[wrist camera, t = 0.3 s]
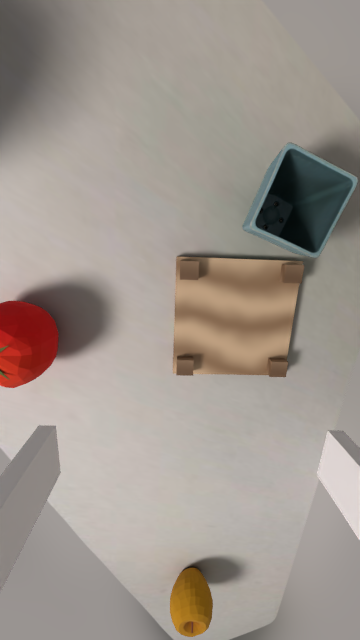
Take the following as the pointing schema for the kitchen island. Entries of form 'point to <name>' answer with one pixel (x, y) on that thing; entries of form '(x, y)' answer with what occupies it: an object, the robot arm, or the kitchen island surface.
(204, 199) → the kitchen island surface
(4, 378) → the tomato
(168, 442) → the kitchen island surface
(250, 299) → the trivet
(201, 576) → the apple
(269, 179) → the flower pot
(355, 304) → the kitchen island surface
